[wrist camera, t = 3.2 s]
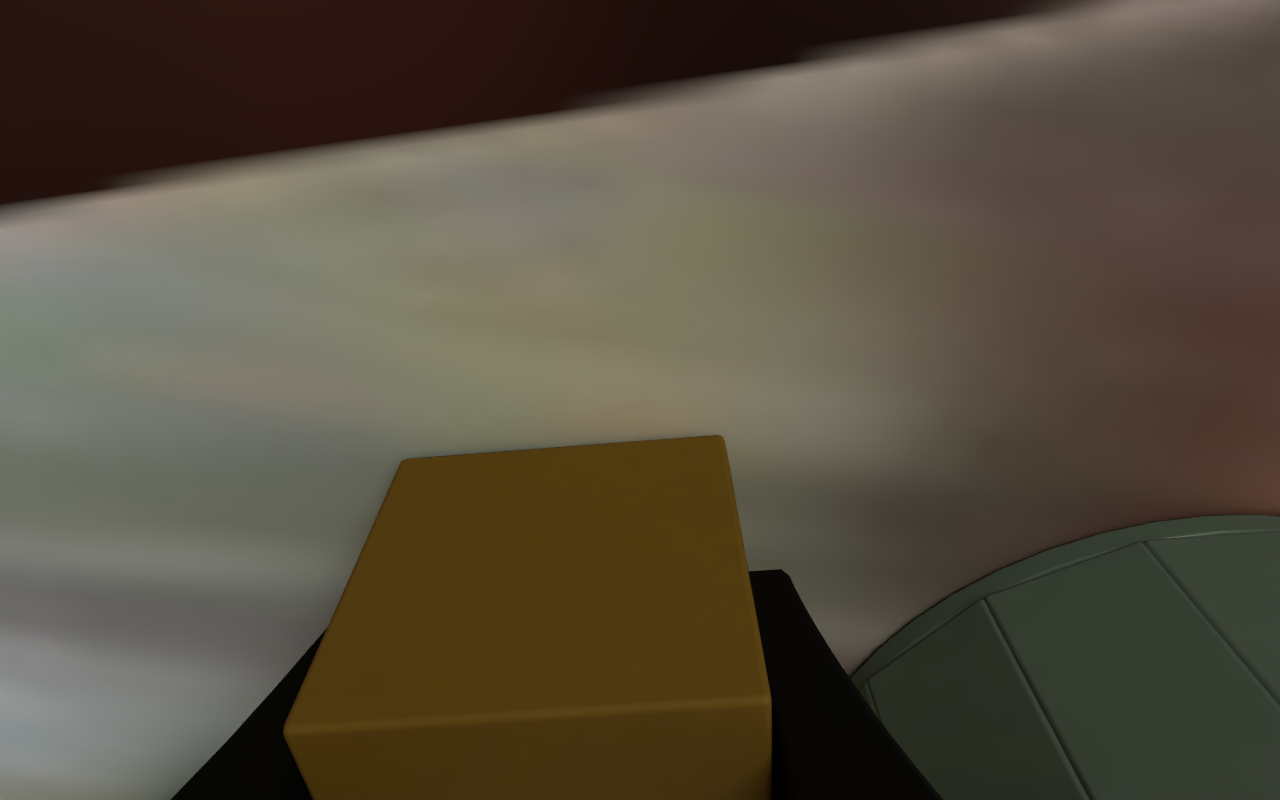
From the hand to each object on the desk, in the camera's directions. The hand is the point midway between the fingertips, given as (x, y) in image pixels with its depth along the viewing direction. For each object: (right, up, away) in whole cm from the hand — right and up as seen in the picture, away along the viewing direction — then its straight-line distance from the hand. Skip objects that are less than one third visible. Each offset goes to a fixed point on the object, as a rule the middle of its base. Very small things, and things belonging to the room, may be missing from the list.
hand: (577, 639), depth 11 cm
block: (0, +1, +1) cm, 1 cm away
